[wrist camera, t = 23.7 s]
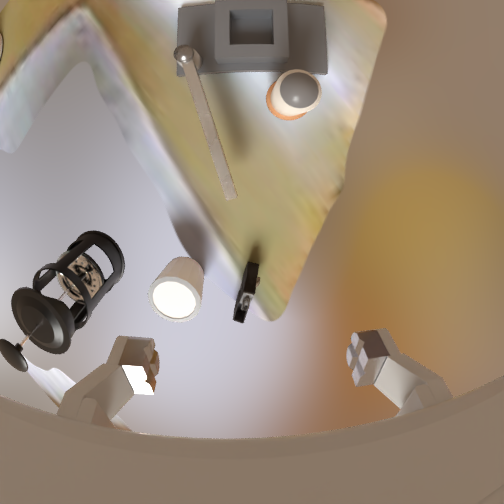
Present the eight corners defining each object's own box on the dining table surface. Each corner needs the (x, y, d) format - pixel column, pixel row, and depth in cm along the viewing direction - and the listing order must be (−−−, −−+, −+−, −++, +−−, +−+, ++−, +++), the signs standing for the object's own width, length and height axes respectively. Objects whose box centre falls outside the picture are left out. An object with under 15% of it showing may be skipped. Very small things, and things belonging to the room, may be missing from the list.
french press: (74, 220, 37) (-32, 299, 16) (127, 234, 38) (32, 336, 17) (75, 285, 42) (-1, 378, 21) (123, 300, 43) (58, 412, 22)
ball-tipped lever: (176, 53, 25) (171, 48, 23) (193, 46, 25) (189, 41, 23) (224, 199, 32) (222, 203, 30) (241, 194, 32) (240, 198, 30)
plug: (265, 120, 32) (270, 116, 22) (264, 83, 30) (270, 62, 20) (304, 121, 32) (328, 118, 22) (304, 85, 30) (327, 66, 20)
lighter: (251, 292, 45) (246, 326, 42) (237, 289, 45) (231, 323, 42) (264, 265, 38) (259, 305, 35) (247, 261, 38) (241, 301, 34)
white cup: (164, 247, 39) (149, 270, 33) (212, 258, 40) (204, 283, 33) (160, 288, 42) (146, 316, 35) (204, 298, 43) (197, 328, 36)
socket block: (178, 76, 30) (169, 70, 26) (180, 10, 26) (172, -2, 22) (325, 75, 30) (334, 68, 26) (321, 9, 26) (329, -4, 22)
